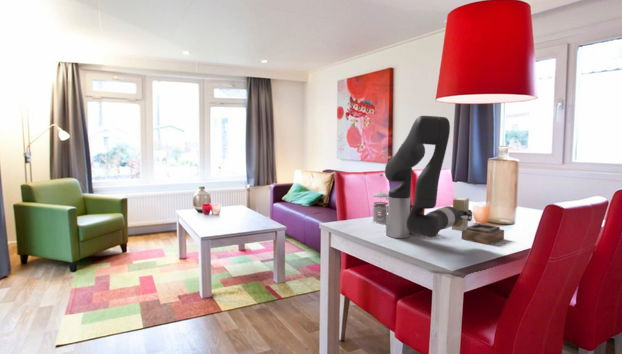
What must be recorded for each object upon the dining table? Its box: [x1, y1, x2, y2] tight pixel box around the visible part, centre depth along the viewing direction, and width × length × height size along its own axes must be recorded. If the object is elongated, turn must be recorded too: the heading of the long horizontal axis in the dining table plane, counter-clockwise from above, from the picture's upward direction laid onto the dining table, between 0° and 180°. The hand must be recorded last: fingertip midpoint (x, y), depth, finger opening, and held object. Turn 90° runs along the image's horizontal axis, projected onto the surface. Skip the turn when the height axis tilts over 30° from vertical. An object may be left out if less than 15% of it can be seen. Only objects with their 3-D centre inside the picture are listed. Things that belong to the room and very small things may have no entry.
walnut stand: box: [461, 223, 505, 246], centre depth 159 cm, size 12×13×5 cm
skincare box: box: [451, 196, 470, 232], centre depth 148 cm, size 6×4×12 cm
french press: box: [371, 173, 389, 224], centre depth 195 cm, size 10×12×25 cm
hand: (463, 211), depth 149 cm, fingers closed on skincare box, 4 cm apart
